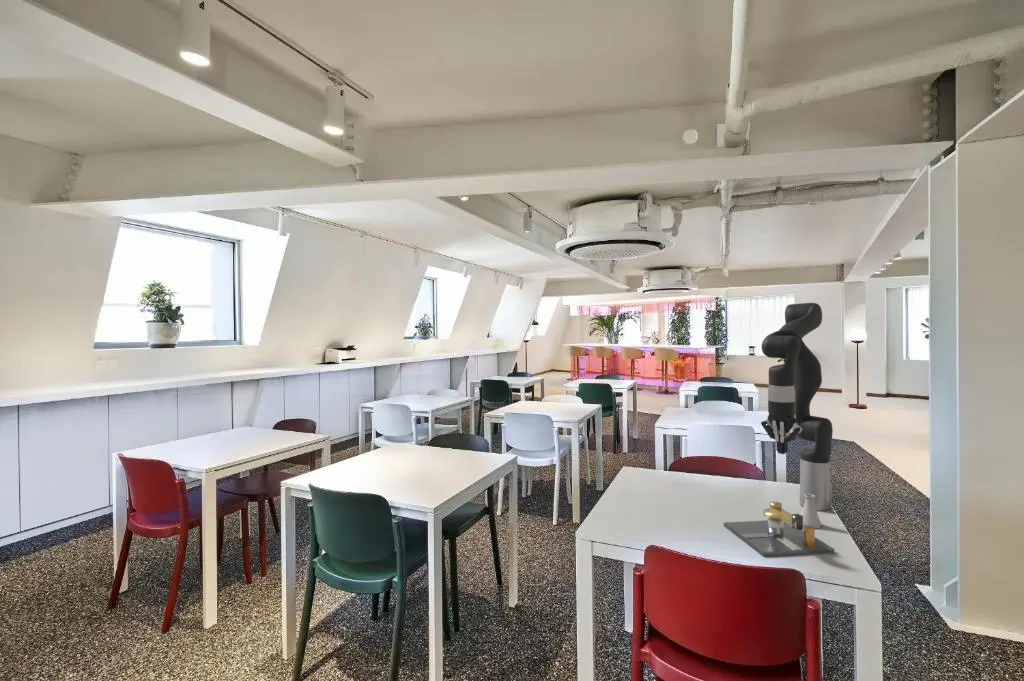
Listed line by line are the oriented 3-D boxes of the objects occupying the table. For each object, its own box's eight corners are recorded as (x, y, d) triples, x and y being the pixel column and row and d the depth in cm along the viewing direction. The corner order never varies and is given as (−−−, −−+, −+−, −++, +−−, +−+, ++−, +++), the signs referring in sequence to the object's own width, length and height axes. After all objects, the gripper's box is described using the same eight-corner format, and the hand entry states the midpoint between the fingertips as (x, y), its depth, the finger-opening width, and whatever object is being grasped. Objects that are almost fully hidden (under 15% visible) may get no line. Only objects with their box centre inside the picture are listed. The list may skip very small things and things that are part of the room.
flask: (821, 530, 162) (822, 500, 162) (796, 526, 166) (796, 496, 166) (822, 523, 168) (822, 494, 168) (797, 518, 172) (797, 490, 172)
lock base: (785, 523, 169) (786, 502, 168) (834, 552, 147) (834, 529, 146) (723, 526, 166) (724, 505, 166) (763, 556, 144) (763, 533, 144)
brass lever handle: (758, 511, 159) (758, 499, 159) (779, 511, 160) (779, 498, 160) (788, 531, 144) (789, 518, 144) (811, 531, 145) (812, 517, 144)
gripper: (809, 400, 153) (809, 456, 154) (768, 395, 164) (768, 446, 165) (795, 403, 149) (796, 460, 150) (754, 397, 160) (755, 450, 161)
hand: (781, 453), depth 157 cm, fingers closed
